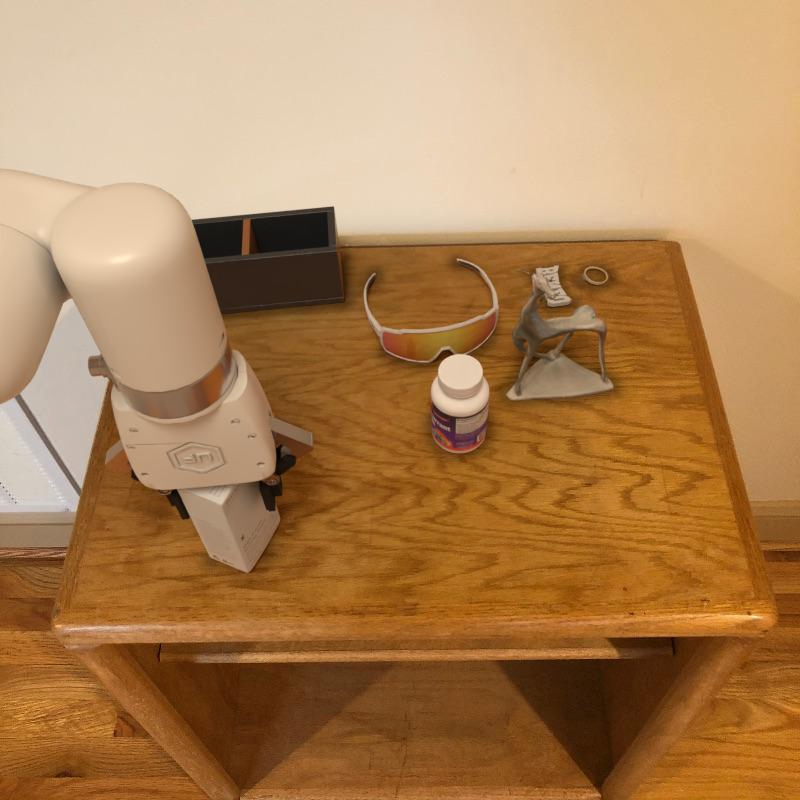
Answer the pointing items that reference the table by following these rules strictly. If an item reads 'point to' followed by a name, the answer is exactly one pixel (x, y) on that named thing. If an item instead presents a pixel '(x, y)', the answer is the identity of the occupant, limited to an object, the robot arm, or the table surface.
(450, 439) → the pill bottle
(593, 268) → the ring
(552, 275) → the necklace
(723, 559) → the table surface
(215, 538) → the cosmetic box
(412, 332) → the sunglasses
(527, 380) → the figurine
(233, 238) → the caddy
